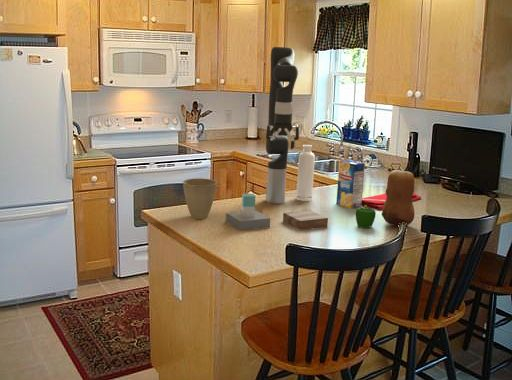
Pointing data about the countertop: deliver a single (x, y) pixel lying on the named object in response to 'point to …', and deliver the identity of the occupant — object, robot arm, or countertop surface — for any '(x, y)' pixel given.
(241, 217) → the grey stand
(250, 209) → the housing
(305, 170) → the bottle
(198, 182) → the plant pot
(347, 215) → the countertop surface
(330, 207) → the countertop surface
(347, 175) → the beverage box
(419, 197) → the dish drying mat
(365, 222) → the bell pepper
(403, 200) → the butternut squash
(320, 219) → the walnut stand
